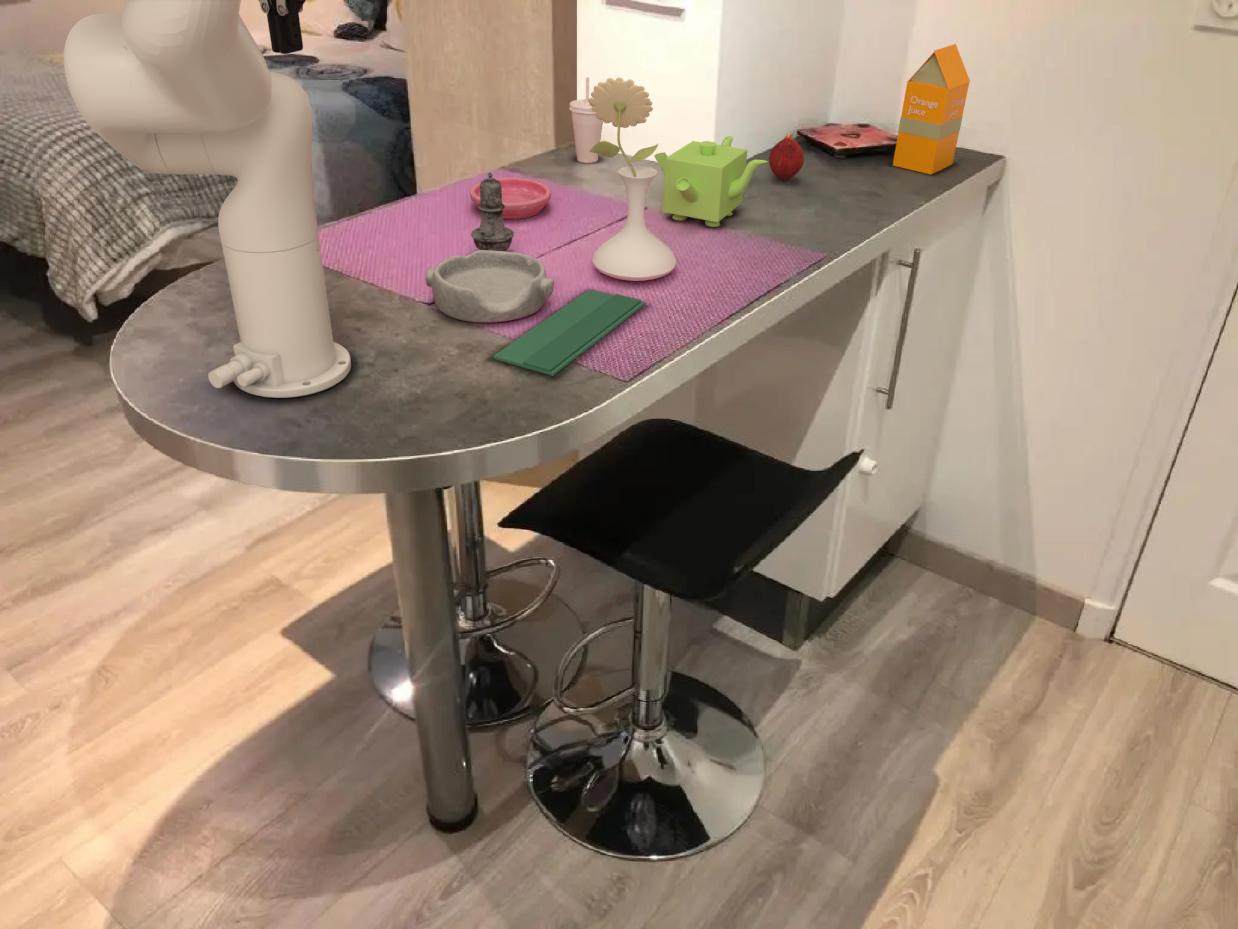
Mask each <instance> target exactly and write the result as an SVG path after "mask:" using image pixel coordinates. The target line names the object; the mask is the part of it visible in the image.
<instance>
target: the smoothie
mask: <svg viewBox="0 0 1238 929" xmlns="http://www.w3.org/2000/svg"><path fill="white" fill-rule="evenodd" d="M589 98H590V77H585V98H583V99H582V98H581V99H575V100H571V101H570V102H569V108H568V109H569V111H570V112H571V120H572V128H573V136H574V145H575V153H576V160H577V161H578V162H580V163H585V164H591V163H596V162H598V161H599V155H600V154H597V153H592V152H589V151H590V150H591V149H592V147H593V146H594V145H596V144H597V143H599V142H601V139H602V132H603V124H604V122H603V120H600V119H599V118H597V117H596V112H593V111H592V109H591V108H592V106H591V105H590V104H589V102H588V99H589Z"/></svg>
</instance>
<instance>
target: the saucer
mask: <svg viewBox="0 0 1238 929" xmlns="http://www.w3.org/2000/svg"><path fill="white" fill-rule="evenodd" d="M494 179H496V180H498V181H499V182H500V183H501V189H502V204H504V205H505V208H504V209H503V220H518V219H519V220H521V219H526V218H530V217H533V216H536V215H537V214H539V213H540V212H541V211H542V210H543V208H545V207H546V205H548V203H549V201H551V199H552V190H551V188H550V187H549V186H548V185H547V184H545V183H544V182H541V181H539V180H534V179H530V178H522V177H494ZM482 181H483V180H482ZM482 181H479V182H477V183H475V184H473V185H472V186H471V188H470V189H469V197H470V199H471V201H472V202H473V203H474V205H475V206H476V207H478V205H479V204H481V201H480V183H481V182H482Z"/></svg>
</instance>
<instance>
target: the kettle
mask: <svg viewBox="0 0 1238 929" xmlns="http://www.w3.org/2000/svg"><path fill="white" fill-rule="evenodd" d="M733 140H734V136H733V135H727V136H725V137H724V138H723V140H722V142H721V144H717V143H716V142H714V141H710V140H705V141H697V140H696V141H695V140H692V141H691V142H689V143H687V144H686V145H684V146H682V147H681V148H679V149H678V150H676V151H675V152H673V153H672V154H669V155H668V154H667V153H666V152H664V151H663V152H658V153H656V154H654V158H655V161H656V163H657V164H658V166H659V168H660V171H661V172H662V174H663V176H664V182H663V199H662V212H663V213H665V214H673V215H672V217H671V218H672V219H673V220H675V221H685V220H687V219H688V217H689V218H693V219H698V220H704V224H705V226H707V227H720V226H721V224H720V222H721V220H723V219H724V218H726V217H730V216H732V215H733V211H734V210H735V209H736V208H737V207H739V206H740V205H741V204H742V203H743V201H744V193H745V191H746V190H747V189H748V186H749V184H750V181H751V179H752V176H753V174H754V172H755V171H756V169H757V168H758V167H759V166H762V165H764V164H767V163H769V160H764V159H752V160H750V161H749V162H748V149H746V148H740V147H733V146H732V143H733ZM747 162H748V163H747Z"/></svg>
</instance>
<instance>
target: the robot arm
mask: <svg viewBox="0 0 1238 929" xmlns="http://www.w3.org/2000/svg"><path fill="white" fill-rule="evenodd" d="M306 1H307V0H258V2H259V6H260V10H261V11H262V13H263V14H266V18H267V25H268V32H269V39H270V45H271V51H272V52H273V53H276V54H279V53H280V54H281V55H288V54H292V53H296V52H300V51H303V49H304V43H303V37H302V36H303V35H302V28H301V21H300V13H302V12H303V10H304V4H305V2H306ZM241 2H242V0H124V2H123V5H122V8H121V12H102V13H95V14H91V15H87V16H85V17H83V18H81V19H79V20H78V21H77V22H76V23H75V24H74V25H73V26H72V28H70V31H69V32H68V35H67V37H66V39H65V42H64V48H63V69H64V74H65V75H64V76H65V80H66V84H67V88H68V91H69V93H70V95H71V96H70V97H71V98H72V100H73V103H74V105H75V107H76V108H77V110H78V112H79V114H80V115H81V117H82V118H83V120H84V121H85V123H87V125H88V126H89V127H90V128H91V129H92V130H93V131H94V132H95V133H96V134H97V135H98V136H99V137H101V138H102V139H103V140H104V141H105V142H106V143H107V144H109V145H110V146H111V147H112V148H113V149H114V150H116V151H117V152H118V153H119V154H120V155H121V156H123V157H124V158H125V159H126V160H128V161H129V163H131V164H132V165H134V166H135V167H137V168H138V169H140V170H143V171H145V172H148V173H151V174H158V175H219V176H230V177H234V178H236V180H237V182H236V184H235V186H234V187H233V188H232V190H231V191H230V192H229V194H228V195H227V197H226V198H225V199H224V201H223V203H222V204H221V207H220V210H219V213H218V218H217V227H218V232H219V233H218V234H219V239H220V244H221V249H222V254H223V258H224V264H225V270H226V275H227V280H228V285H229V289H230V295H231V300H232V304H233V310H234V316H235V322H236V325H237V329H238V330H237V331H238V336H239V340H240V341H239V342H237V343H235V344H233V345H232V348H233V353H234V356H232V357H231V358H230V359H229V362H228V363H226V364H223V365H221V366H219V367H216V368H215V369H213V370H210V371H209V372H208V374H207V377H208V381H209V383H210V385H212V386H213V388H216V389H222V388H224V387H225V386H227V385H229V384H231V383H232V382H233V383H234V385H235V386H236V387H237V388H238V389H240V390H242V391H244V392H246V393H248V394H250V395H254V396H257V397H263V398H269V399H271V398H273V399H288V398H297V397H298V398H299V397H304V396H310V395H314V394H317V393H320V392H323V391H326V390H328V389H331V388H333V387H334V386H335V385H337V384H339V383H340V382H341V381H343V380H344V379H345V378H346V377H347V376H348V374H349V373H350V372H351V368H352V361H351V355H350V351H348V349H347V348H345V346H342V345H341V344H340V343H338V342H335V341H334V335H333V328H332V322H331V321H332V320H331V316H330V315H331V314H330V308H329V307H330V306H329V300H328V295H327V294H328V293H327V287H326V279H325V273H324V264H323V258H322V251H321V243H320V236H319V227H318V220H317V214H316V212H317V211H316V205H315V196H314V182H313V129H314V128H313V112H312V107H311V106H312V105H311V102H310V99H309V97H308V95H307V93H306V90H304V89H303V87H302V86H301V84H300V83H298V82H297V81H296V80H294V79H293V78H291V77H290V76H288V75H285V74H283V73H280V72H276V71H271V70H269V68H268V67H269V66H268V65H267V62H266V58H265V57H264V55H263V53H262V51H261V49H260V48H259V46H258V44H257V42H256V41H255V39H254V37H253V35H252V34H251V32H250V30H249V28H248V27H247V25H246V23H245V22H244V20H243V19H242V17H241V15H240V7H241Z"/></svg>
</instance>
